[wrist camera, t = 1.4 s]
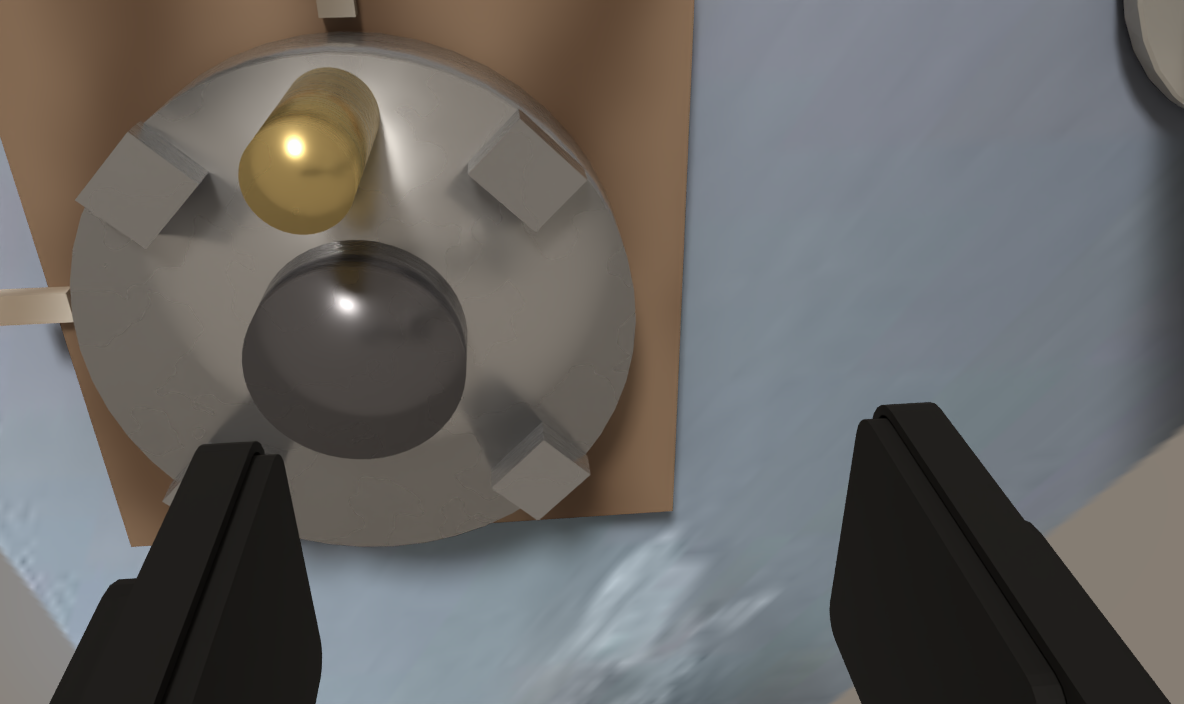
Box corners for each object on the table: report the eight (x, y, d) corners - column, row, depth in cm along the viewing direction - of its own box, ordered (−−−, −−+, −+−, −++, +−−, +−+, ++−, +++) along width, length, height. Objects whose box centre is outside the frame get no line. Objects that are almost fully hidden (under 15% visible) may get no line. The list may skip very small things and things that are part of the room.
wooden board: (684, -64, 28) (700, -53, 26) (664, 479, 38) (674, 519, 36) (-85, -49, 27) (-136, -37, 24) (102, 514, 36) (78, 559, 34)
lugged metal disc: (626, 23, 27) (674, 98, 20) (621, 476, 35) (655, 645, 28) (41, 39, 26) (-129, 124, 19) (172, 505, 34) (88, 689, 27)
